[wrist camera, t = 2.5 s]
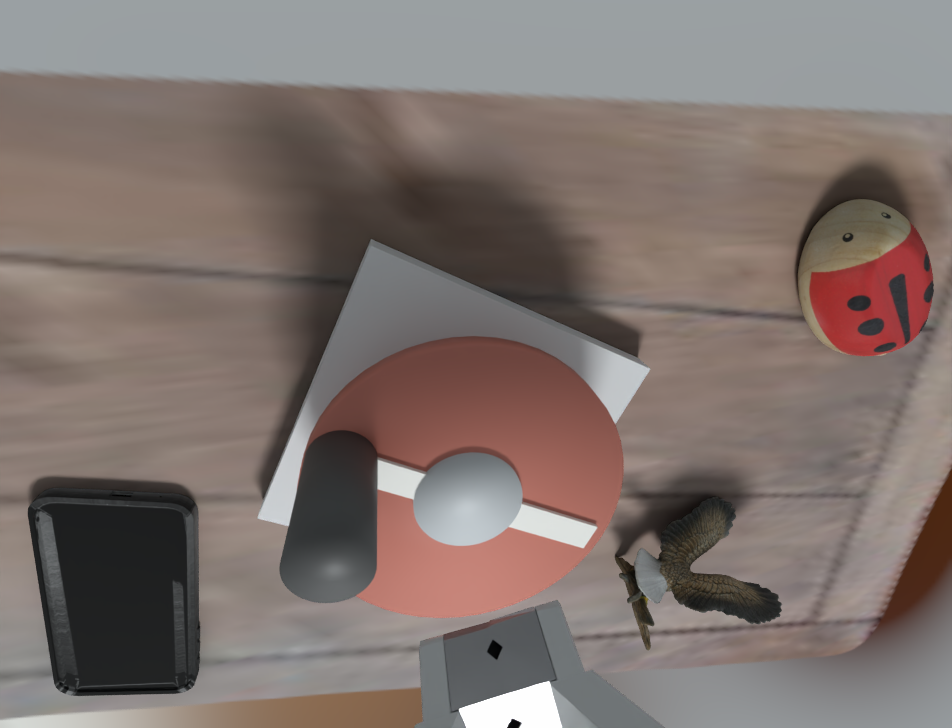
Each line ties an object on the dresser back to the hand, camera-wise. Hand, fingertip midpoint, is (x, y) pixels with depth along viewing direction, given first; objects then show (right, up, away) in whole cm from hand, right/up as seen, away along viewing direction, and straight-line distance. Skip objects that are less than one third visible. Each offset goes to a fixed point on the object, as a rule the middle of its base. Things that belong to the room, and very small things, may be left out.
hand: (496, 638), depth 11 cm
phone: (-21, -8, +20) cm, 30 cm away
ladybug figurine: (+21, +11, +19) cm, 30 cm away
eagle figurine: (+13, -6, +25) cm, 29 cm away
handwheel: (-1, 0, +14) cm, 14 cm away
